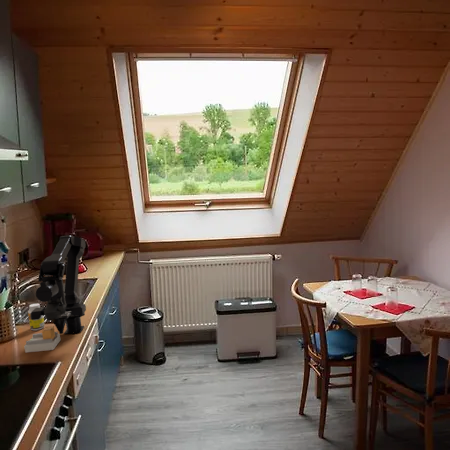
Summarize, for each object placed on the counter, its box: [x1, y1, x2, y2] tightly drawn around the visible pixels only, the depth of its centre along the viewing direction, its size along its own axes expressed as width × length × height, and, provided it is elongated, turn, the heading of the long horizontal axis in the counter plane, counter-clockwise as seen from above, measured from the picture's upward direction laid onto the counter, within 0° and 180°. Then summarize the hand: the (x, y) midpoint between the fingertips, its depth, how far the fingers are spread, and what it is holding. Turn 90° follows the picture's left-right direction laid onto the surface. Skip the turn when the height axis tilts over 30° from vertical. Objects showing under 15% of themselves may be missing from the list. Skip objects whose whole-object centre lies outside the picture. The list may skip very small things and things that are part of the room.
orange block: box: [41, 325, 56, 340], centre depth 164 cm, size 4×3×4 cm
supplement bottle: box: [27, 303, 46, 331], centre depth 183 cm, size 6×6×10 cm
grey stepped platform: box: [24, 331, 62, 353], centre depth 164 cm, size 9×10×4 cm
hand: (61, 333), depth 164 cm, fingers closed
